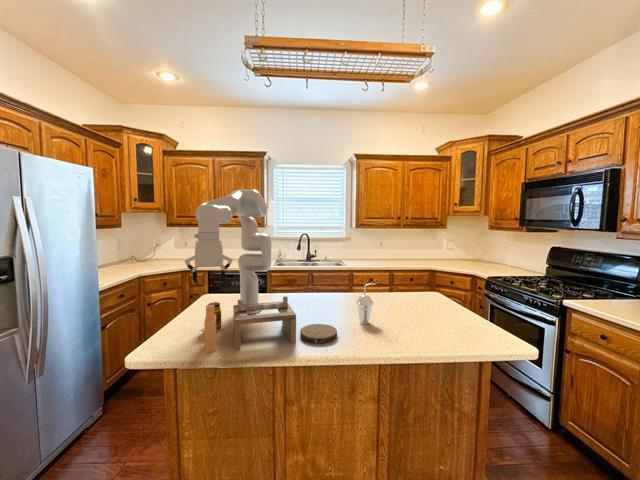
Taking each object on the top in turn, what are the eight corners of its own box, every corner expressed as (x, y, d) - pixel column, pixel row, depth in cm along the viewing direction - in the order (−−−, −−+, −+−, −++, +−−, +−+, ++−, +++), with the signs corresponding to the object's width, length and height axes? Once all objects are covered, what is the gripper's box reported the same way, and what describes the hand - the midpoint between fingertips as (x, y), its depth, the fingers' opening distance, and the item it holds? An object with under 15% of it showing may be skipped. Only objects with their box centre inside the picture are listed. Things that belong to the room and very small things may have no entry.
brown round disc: (302, 329, 137) (302, 323, 137) (336, 330, 137) (336, 324, 136) (298, 344, 121) (298, 337, 121) (337, 345, 121) (337, 338, 120)
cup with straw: (360, 318, 153) (361, 279, 151) (376, 322, 147) (377, 282, 146) (352, 323, 146) (353, 282, 144) (369, 327, 140) (370, 285, 139)
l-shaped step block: (206, 343, 121) (205, 303, 120) (216, 342, 122) (216, 302, 121) (204, 351, 113) (204, 309, 112) (216, 350, 114) (215, 308, 113)
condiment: (215, 333, 132) (215, 306, 131) (199, 330, 134) (199, 304, 133) (225, 327, 139) (225, 302, 138) (210, 325, 141) (210, 300, 140)
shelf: (233, 331, 133) (233, 294, 132) (286, 326, 141) (286, 290, 139) (235, 350, 114) (234, 307, 113) (295, 343, 122) (296, 302, 120)
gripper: (183, 237, 108) (183, 284, 109) (232, 237, 113) (232, 281, 114) (185, 236, 115) (186, 280, 116) (232, 236, 120) (232, 278, 121)
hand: (209, 281), depth 115 cm, fingers open, 9 cm apart
